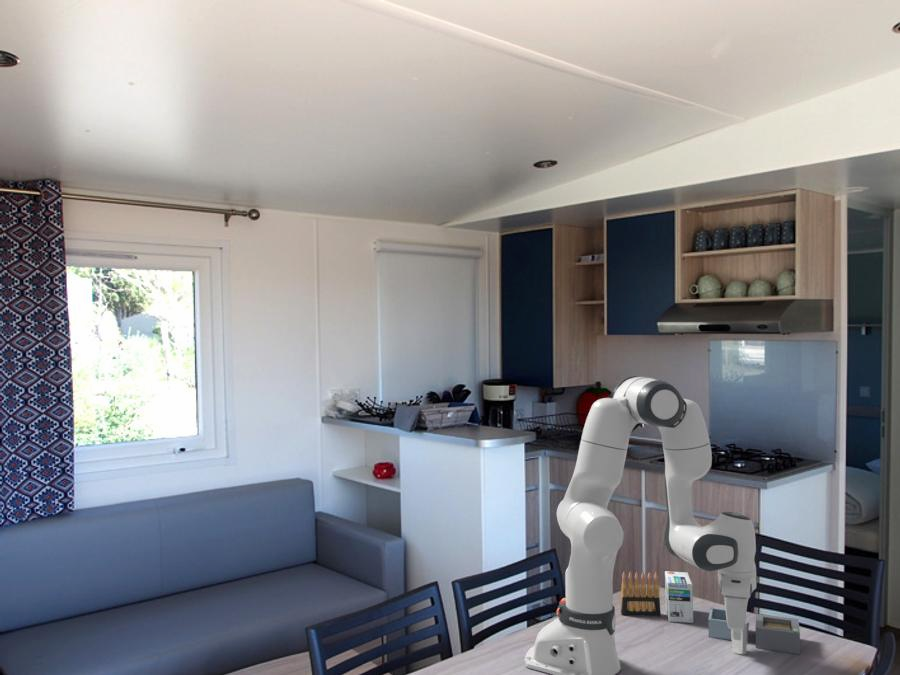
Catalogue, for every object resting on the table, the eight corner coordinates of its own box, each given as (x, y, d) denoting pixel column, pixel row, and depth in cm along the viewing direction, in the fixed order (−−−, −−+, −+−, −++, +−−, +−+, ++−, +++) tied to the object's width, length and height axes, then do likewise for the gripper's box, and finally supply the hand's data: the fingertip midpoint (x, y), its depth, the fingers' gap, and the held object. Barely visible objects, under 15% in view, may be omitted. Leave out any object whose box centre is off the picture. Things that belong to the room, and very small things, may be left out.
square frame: (755, 647, 182) (755, 625, 182) (756, 632, 192) (756, 611, 192) (800, 654, 178) (799, 631, 178) (798, 638, 188) (798, 616, 188)
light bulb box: (693, 623, 198) (693, 584, 198) (668, 622, 200) (667, 582, 200) (689, 609, 209) (688, 571, 209) (664, 608, 210) (664, 570, 210)
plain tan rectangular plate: (764, 633, 183) (764, 630, 183) (764, 625, 189) (764, 622, 189) (790, 637, 181) (790, 634, 181) (790, 628, 187) (790, 625, 187)
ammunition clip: (621, 615, 205) (621, 572, 205) (620, 612, 207) (620, 570, 207) (660, 616, 204) (660, 573, 204) (659, 613, 206) (658, 571, 206)
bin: (708, 636, 189) (708, 619, 189) (711, 624, 197) (710, 607, 197) (744, 641, 186) (744, 623, 186) (745, 629, 194) (745, 612, 194)
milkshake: (725, 646, 183) (725, 606, 183) (748, 649, 182) (748, 608, 182) (726, 654, 179) (726, 613, 179) (750, 656, 177) (749, 615, 177)
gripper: (725, 565, 191) (726, 618, 191) (720, 590, 172) (721, 649, 172) (751, 567, 189) (752, 621, 189) (749, 593, 170) (750, 653, 170)
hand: (737, 634), depth 180 cm, fingers closed on milkshake, 4 cm apart
